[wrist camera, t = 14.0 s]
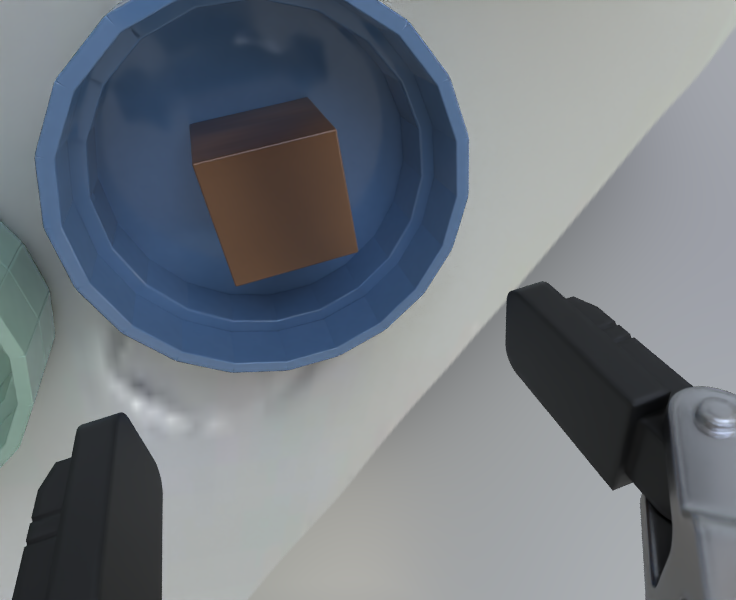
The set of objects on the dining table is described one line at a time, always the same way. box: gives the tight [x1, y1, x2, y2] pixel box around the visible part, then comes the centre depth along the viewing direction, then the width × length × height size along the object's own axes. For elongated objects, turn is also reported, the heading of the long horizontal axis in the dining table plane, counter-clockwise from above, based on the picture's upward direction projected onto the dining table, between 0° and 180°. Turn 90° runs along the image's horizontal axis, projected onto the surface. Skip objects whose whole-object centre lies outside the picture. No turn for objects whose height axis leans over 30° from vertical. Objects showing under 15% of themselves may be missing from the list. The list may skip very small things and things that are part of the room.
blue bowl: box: [35, 0, 469, 373], centre depth 20 cm, size 14×14×5 cm
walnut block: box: [189, 97, 358, 286], centre depth 19 cm, size 5×5×5 cm
